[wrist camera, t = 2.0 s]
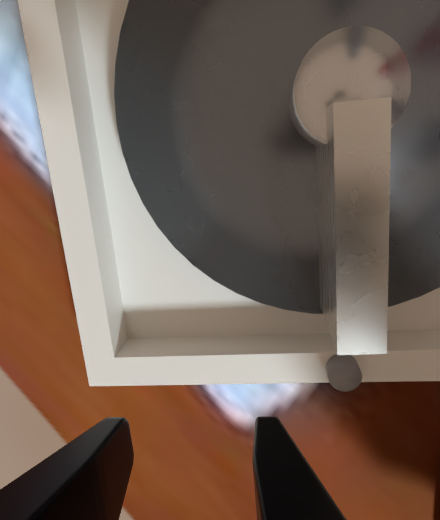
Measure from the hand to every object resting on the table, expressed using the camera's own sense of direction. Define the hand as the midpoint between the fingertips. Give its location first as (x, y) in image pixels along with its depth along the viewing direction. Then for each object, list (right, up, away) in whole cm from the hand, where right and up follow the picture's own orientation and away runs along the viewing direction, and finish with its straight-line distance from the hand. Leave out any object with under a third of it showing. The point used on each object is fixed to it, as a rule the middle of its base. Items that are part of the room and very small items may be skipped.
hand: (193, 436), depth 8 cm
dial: (+5, +10, +9) cm, 14 cm away
